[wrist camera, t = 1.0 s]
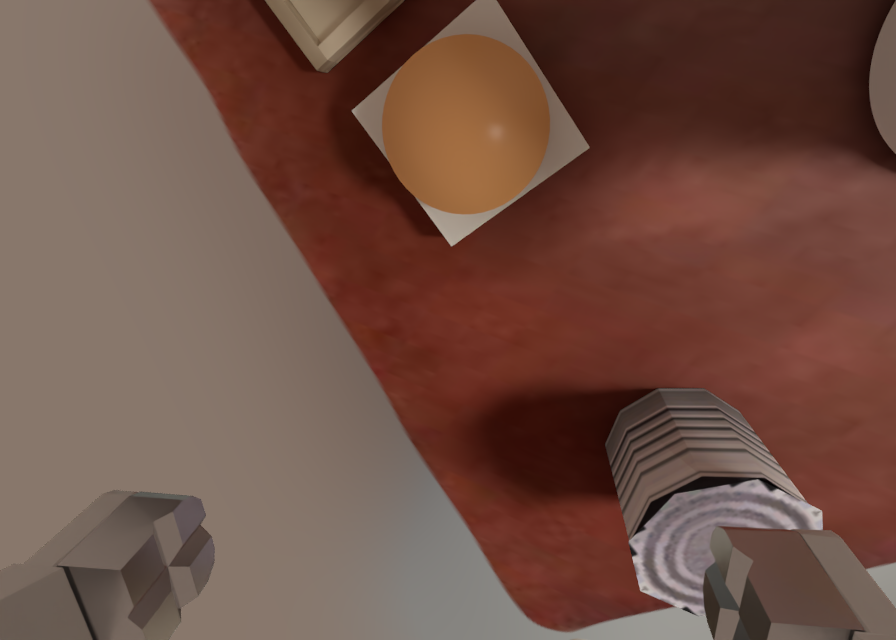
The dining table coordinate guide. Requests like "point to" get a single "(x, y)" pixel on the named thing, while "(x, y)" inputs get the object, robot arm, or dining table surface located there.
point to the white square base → (563, 132)
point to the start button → (465, 124)
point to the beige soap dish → (330, 25)
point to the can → (693, 487)
